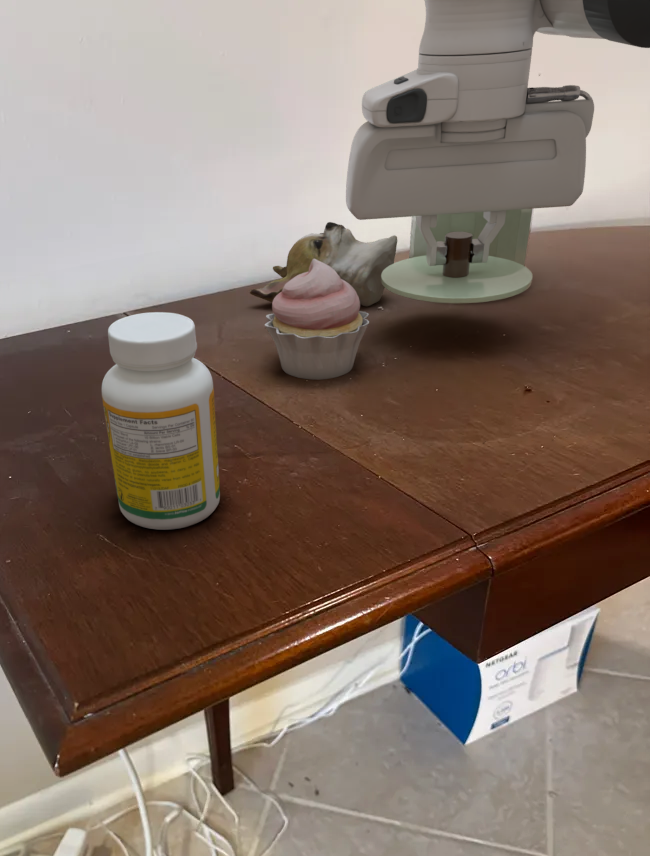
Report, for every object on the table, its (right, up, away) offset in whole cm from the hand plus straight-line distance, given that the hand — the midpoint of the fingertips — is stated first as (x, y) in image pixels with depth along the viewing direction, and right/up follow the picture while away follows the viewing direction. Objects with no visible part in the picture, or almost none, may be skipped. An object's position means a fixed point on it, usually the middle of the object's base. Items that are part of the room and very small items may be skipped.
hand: (456, 262), depth 75 cm
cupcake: (-13, -10, 0) cm, 16 cm away
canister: (+6, +4, +18) cm, 19 cm away
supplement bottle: (-25, -23, -19) cm, 38 cm away
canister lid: (0, -1, +1) cm, 2 cm away
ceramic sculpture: (-10, +1, +15) cm, 18 cm away
